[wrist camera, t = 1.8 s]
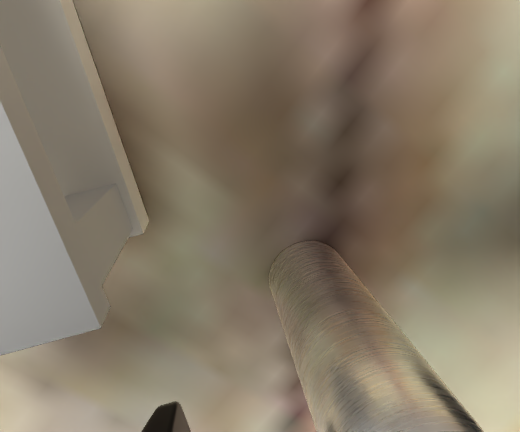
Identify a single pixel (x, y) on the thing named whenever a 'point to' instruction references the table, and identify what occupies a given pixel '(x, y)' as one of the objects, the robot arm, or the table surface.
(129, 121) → the table surface
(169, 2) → the table surface
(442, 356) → the table surface
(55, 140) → the grey square-hole box
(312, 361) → the shiny metal cylinder
